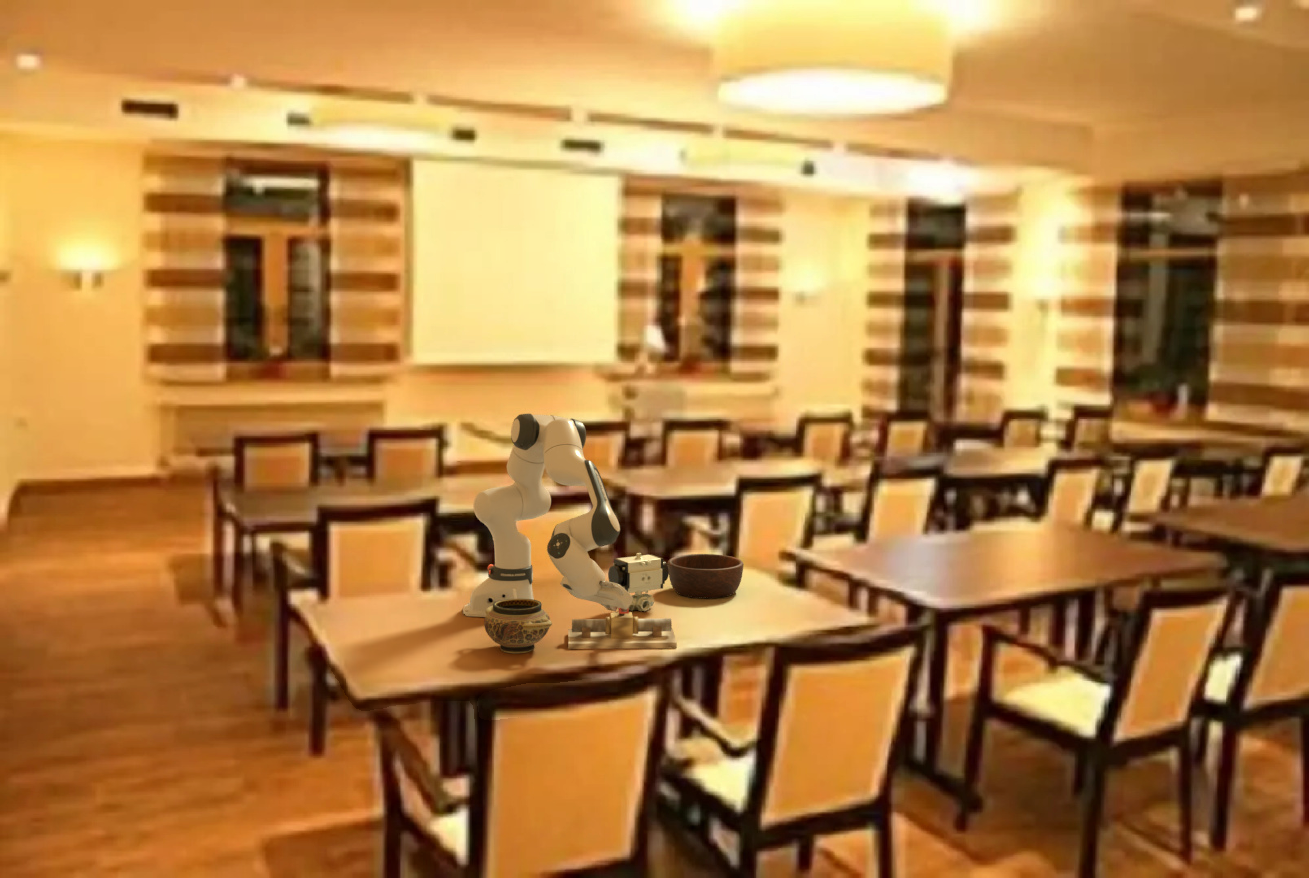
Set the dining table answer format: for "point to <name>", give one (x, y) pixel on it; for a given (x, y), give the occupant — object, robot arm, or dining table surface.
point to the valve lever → (623, 611)
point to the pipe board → (621, 643)
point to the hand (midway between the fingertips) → (613, 608)
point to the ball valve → (639, 577)
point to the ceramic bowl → (516, 624)
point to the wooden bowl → (705, 575)
